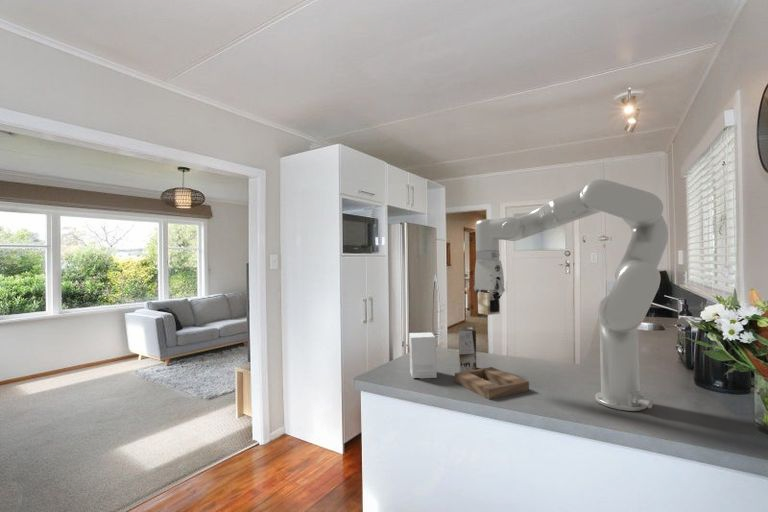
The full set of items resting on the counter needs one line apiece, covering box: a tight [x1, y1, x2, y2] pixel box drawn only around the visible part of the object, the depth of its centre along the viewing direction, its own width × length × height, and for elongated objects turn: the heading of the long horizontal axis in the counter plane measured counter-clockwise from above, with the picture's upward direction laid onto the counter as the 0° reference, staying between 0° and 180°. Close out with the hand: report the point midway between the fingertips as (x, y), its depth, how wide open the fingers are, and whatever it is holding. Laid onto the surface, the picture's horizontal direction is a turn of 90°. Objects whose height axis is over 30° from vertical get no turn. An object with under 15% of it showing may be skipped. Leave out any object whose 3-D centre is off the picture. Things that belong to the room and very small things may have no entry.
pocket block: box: [454, 366, 530, 400], centre depth 125 cm, size 18×16×3 cm
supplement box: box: [408, 332, 437, 380], centre depth 139 cm, size 9×9×15 cm
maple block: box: [477, 291, 501, 316], centre depth 125 cm, size 5×5×7 cm
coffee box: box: [458, 326, 477, 372], centre depth 143 cm, size 9×6×16 cm
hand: (488, 310), depth 125 cm, fingers closed on maple block, 5 cm apart
